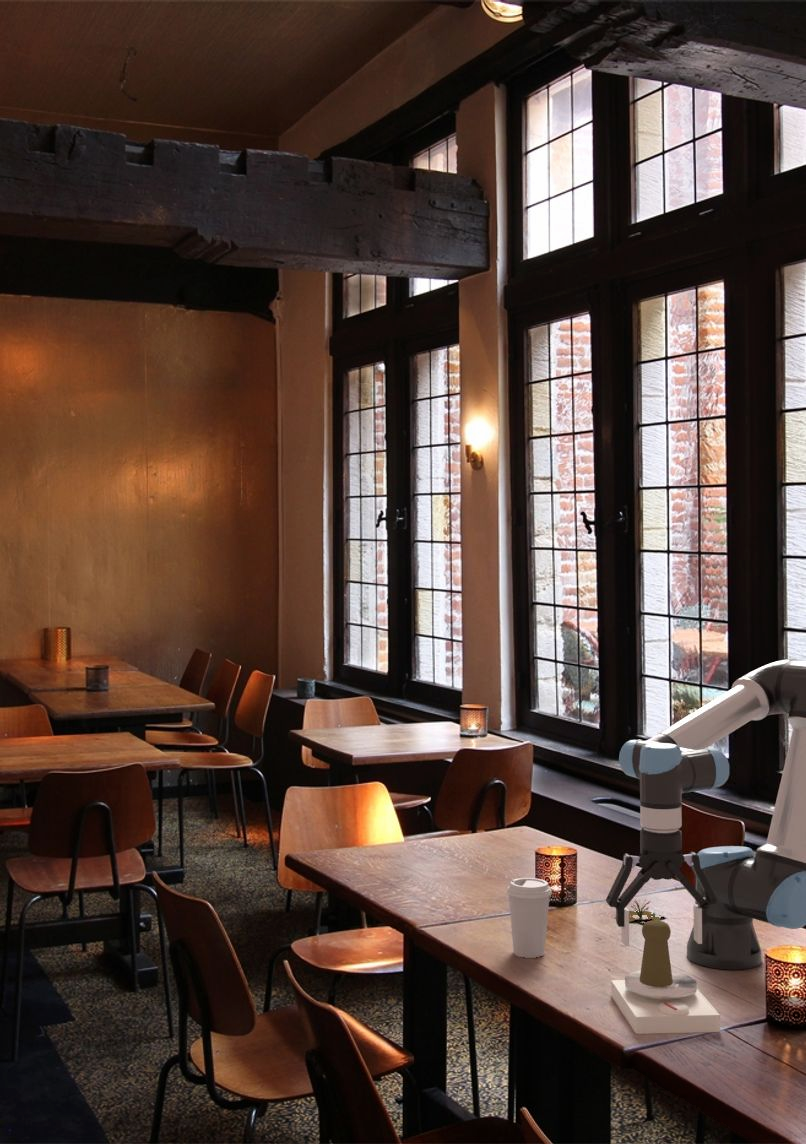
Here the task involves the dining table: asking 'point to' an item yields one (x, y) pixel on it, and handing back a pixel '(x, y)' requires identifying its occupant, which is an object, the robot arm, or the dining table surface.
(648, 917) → the lily flower
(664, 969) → the cork
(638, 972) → the pan
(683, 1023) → the scale base
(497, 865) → the dining table surface
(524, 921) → the coffee cup
